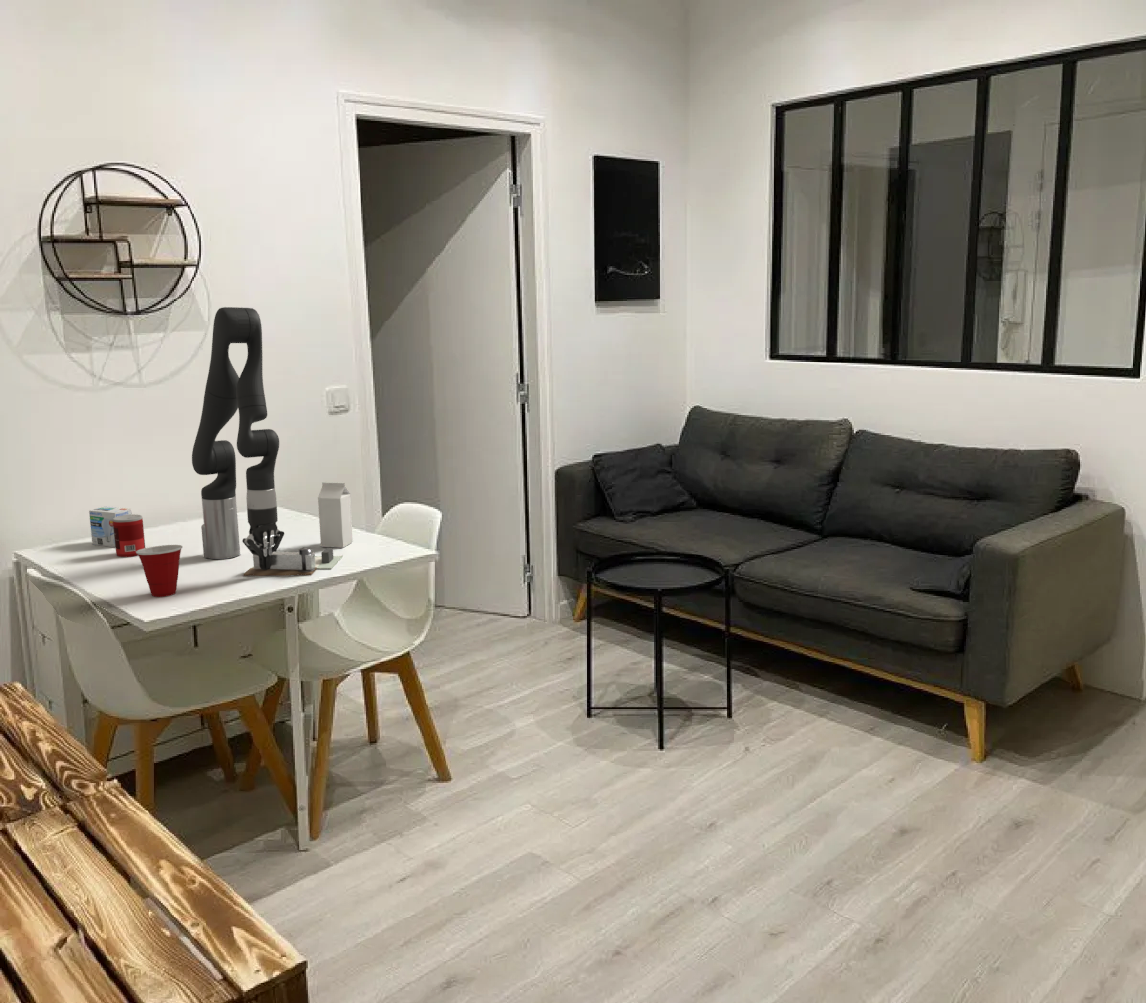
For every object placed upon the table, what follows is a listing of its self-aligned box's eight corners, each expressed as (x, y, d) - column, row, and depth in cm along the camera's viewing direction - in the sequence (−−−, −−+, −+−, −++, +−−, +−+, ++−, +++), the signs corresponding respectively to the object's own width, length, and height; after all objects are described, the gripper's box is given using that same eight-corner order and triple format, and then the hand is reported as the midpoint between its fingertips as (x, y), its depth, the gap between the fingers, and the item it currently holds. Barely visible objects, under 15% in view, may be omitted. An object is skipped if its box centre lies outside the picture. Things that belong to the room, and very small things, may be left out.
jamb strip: (243, 575, 267) (243, 572, 267) (250, 570, 273) (250, 566, 273) (311, 575, 267) (311, 572, 267) (317, 569, 273) (317, 566, 273)
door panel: (250, 570, 273) (250, 568, 273) (265, 557, 286) (265, 556, 286) (331, 569, 273) (331, 567, 273) (342, 557, 286) (342, 555, 285)
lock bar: (315, 566, 271) (314, 548, 270) (311, 569, 268) (310, 550, 267) (258, 565, 273) (257, 547, 272) (253, 568, 269) (252, 550, 268)
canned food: (151, 552, 294) (148, 515, 291) (129, 558, 287) (125, 521, 284) (132, 549, 297) (129, 513, 295) (110, 555, 290) (106, 518, 288)
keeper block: (322, 564, 278) (321, 552, 277) (326, 560, 283) (325, 548, 282) (329, 564, 278) (328, 552, 277) (333, 560, 283) (332, 548, 282)
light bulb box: (91, 545, 303) (87, 510, 301) (109, 540, 310) (105, 505, 307) (118, 547, 299) (114, 512, 297) (135, 542, 306) (132, 508, 303)
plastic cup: (176, 585, 259) (172, 540, 257) (193, 593, 251) (189, 547, 249) (133, 593, 252) (128, 547, 249) (150, 602, 244) (145, 554, 242)
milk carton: (343, 548, 296) (339, 485, 292) (320, 547, 298) (316, 484, 294) (353, 542, 303) (349, 480, 299) (331, 541, 304) (327, 480, 301)
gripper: (252, 510, 256) (256, 576, 259) (290, 502, 267) (294, 565, 270) (232, 508, 260) (236, 573, 263) (270, 500, 271) (274, 562, 274)
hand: (265, 569), depth 267 cm, fingers closed
